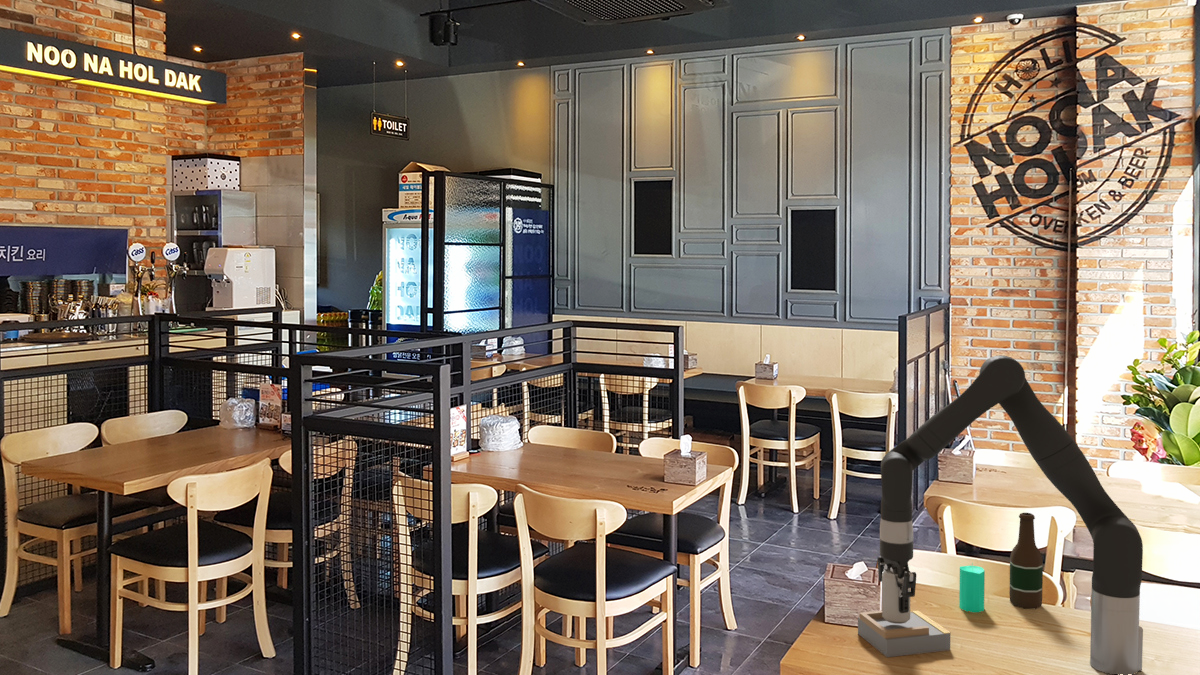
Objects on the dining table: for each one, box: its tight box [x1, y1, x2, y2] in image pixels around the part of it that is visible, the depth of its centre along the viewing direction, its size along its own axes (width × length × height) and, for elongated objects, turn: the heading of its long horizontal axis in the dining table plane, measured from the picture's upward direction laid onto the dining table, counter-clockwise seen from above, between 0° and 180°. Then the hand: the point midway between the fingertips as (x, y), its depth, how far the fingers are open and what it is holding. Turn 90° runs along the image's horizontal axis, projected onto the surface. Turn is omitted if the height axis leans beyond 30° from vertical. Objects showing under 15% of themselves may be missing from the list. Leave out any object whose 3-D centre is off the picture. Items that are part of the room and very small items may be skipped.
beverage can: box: [881, 568, 911, 624], centre depth 219 cm, size 6×6×12 cm
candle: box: [958, 562, 986, 613], centre depth 240 cm, size 6×6×12 cm
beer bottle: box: [1009, 512, 1044, 610], centre depth 241 cm, size 8×8×24 cm
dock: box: [857, 610, 951, 658], centre depth 220 cm, size 16×14×6 cm
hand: (896, 606), depth 219 cm, fingers closed on beverage can, 6 cm apart
